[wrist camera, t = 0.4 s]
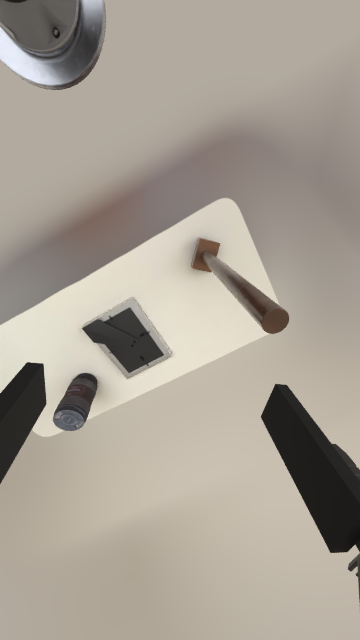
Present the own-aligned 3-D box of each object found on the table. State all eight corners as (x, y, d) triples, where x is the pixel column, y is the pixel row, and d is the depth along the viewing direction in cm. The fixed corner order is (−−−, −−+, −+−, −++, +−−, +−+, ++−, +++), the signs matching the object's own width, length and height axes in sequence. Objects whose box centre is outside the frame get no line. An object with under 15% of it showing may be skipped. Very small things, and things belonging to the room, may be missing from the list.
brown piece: (197, 236, 55) (265, 279, 19) (217, 241, 56) (317, 291, 20) (190, 264, 58) (237, 348, 22) (208, 269, 59) (283, 356, 23)
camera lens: (68, 385, 71) (46, 425, 58) (79, 367, 69) (58, 404, 55) (92, 395, 74) (77, 436, 60) (103, 377, 71) (90, 416, 57)
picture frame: (85, 323, 63) (128, 374, 71) (81, 328, 60) (126, 380, 69) (132, 296, 61) (171, 352, 69) (131, 300, 58) (172, 357, 66)
